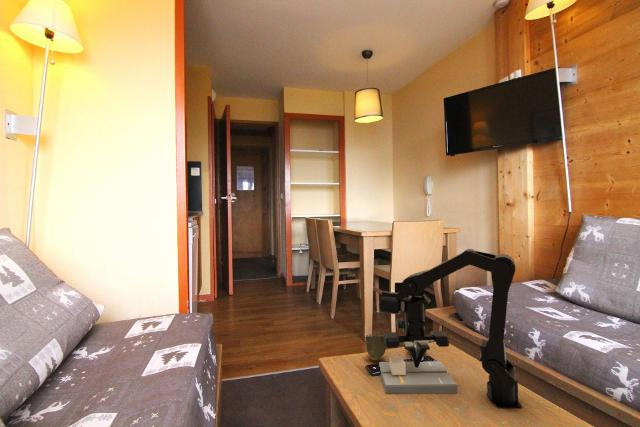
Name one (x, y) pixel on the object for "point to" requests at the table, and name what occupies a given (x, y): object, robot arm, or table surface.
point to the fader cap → (397, 365)
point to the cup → (375, 346)
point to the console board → (418, 379)
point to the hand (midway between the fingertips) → (416, 367)
